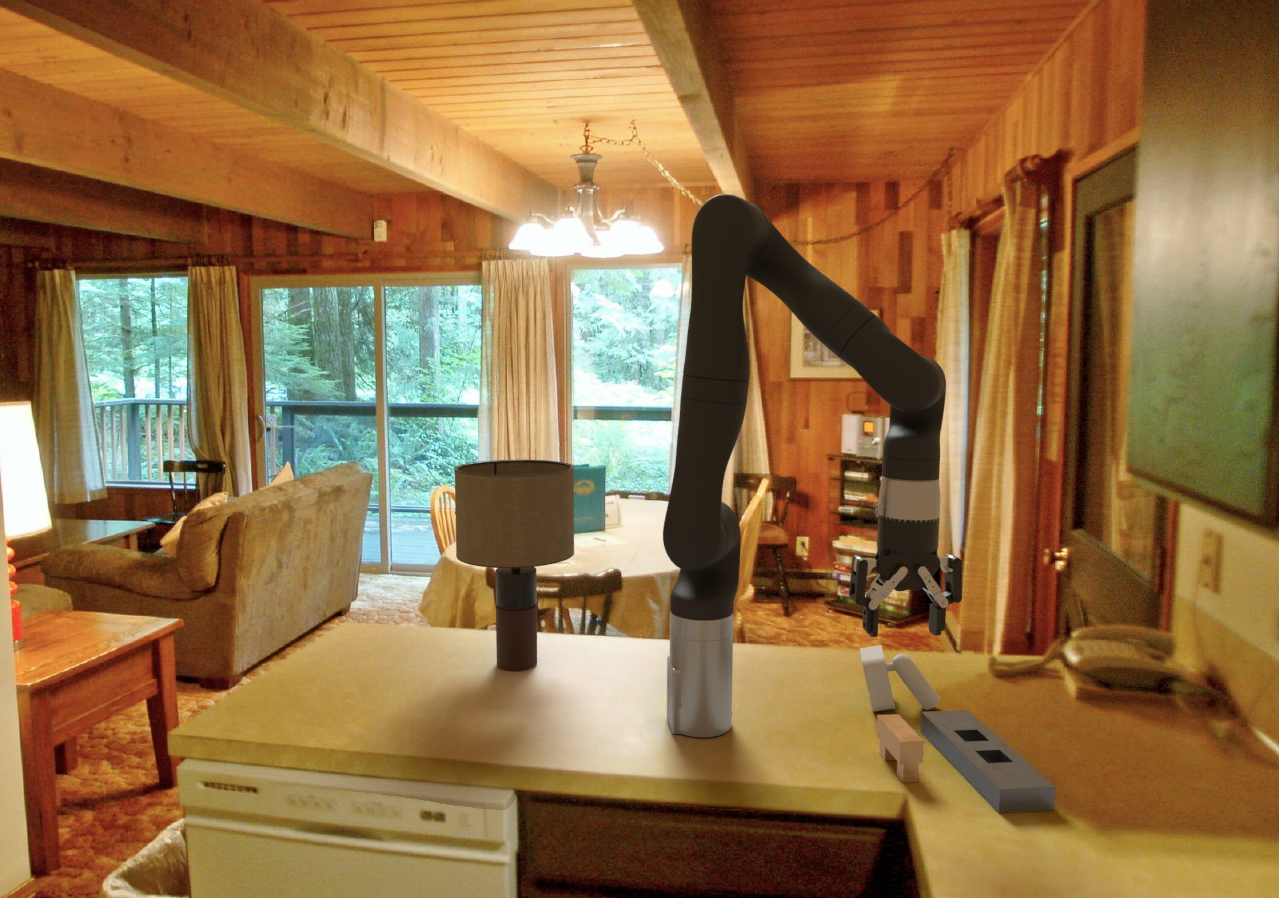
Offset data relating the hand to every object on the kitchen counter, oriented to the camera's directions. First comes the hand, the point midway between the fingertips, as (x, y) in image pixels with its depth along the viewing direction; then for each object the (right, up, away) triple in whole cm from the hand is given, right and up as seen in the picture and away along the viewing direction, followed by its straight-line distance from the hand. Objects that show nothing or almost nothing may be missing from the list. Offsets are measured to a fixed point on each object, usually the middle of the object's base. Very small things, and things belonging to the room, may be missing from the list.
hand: (903, 634), depth 110 cm
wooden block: (0, -18, +2) cm, 18 cm away
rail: (+11, -18, +2) cm, 21 cm away
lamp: (-56, -14, +38) cm, 69 cm away
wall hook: (+6, -16, +21) cm, 27 cm away
